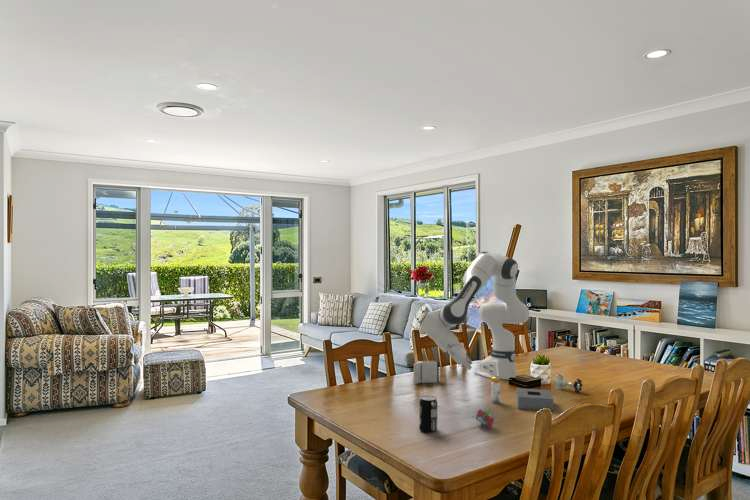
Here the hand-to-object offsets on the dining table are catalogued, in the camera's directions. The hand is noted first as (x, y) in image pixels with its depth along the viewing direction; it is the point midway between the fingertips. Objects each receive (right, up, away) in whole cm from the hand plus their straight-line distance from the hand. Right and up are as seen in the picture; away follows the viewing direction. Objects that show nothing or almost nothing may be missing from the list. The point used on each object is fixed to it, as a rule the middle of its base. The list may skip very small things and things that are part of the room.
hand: (471, 366), depth 222 cm
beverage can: (-23, -15, -37) cm, 46 cm away
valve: (+49, -16, +18) cm, 55 cm away
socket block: (+26, -15, -6) cm, 31 cm away
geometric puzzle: (-1, -15, -34) cm, 38 cm away
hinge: (-17, -15, +31) cm, 38 cm away
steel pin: (+10, -15, -2) cm, 18 cm away
